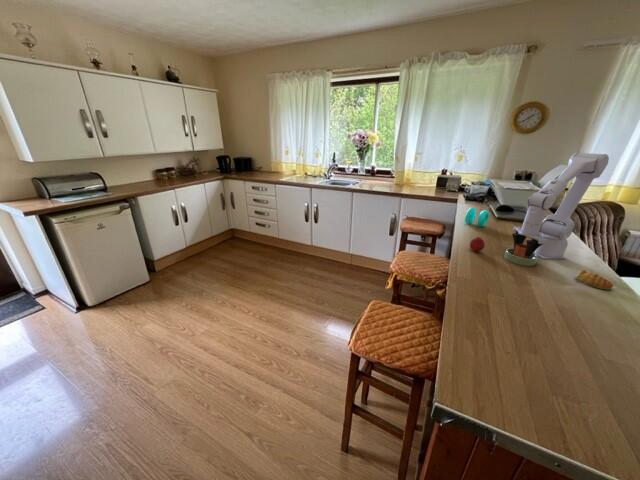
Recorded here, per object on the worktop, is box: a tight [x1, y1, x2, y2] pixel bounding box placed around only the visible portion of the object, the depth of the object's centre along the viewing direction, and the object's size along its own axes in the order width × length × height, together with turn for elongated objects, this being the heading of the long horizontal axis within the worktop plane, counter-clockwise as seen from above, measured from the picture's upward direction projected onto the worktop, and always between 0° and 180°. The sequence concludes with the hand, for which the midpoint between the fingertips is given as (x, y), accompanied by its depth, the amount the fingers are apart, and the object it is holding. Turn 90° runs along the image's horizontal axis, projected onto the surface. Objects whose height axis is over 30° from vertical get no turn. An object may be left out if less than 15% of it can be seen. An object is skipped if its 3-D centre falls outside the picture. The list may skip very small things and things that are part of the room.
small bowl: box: [513, 243, 530, 259], centre depth 108 cm, size 6×6×4 cm
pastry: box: [574, 269, 614, 291], centre depth 92 cm, size 9×7×4 cm
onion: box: [469, 235, 486, 253], centre depth 116 cm, size 6×6×8 cm
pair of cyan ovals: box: [464, 207, 490, 228], centre depth 150 cm, size 10×10×10 cm
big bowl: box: [503, 247, 539, 267], centre depth 109 cm, size 11×11×4 cm
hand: (522, 252), depth 108 cm, fingers closed on small bowl, 5 cm apart
